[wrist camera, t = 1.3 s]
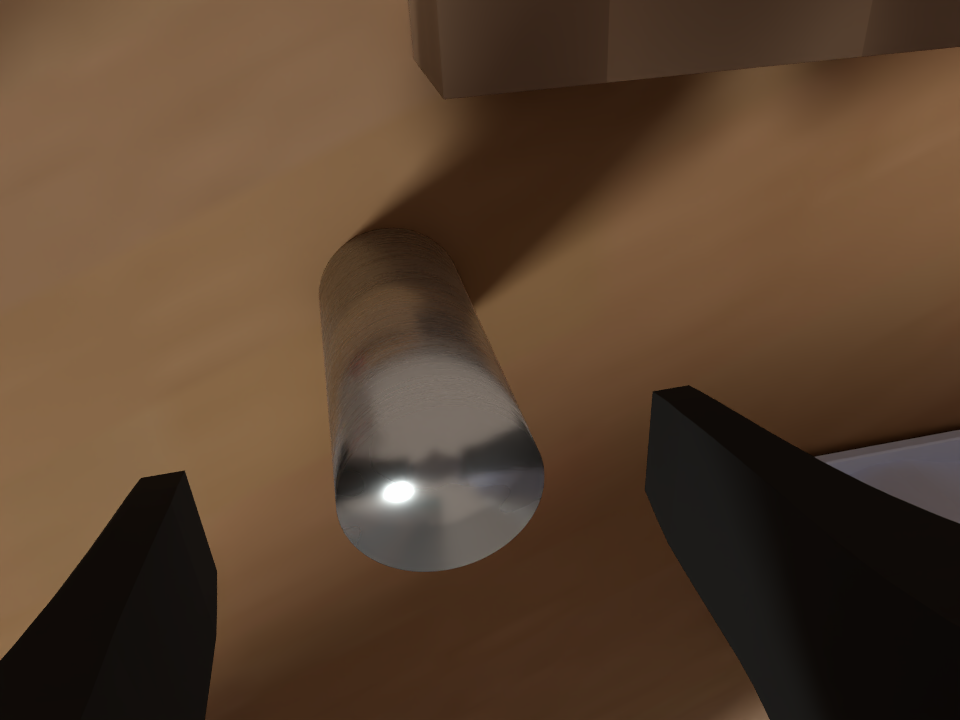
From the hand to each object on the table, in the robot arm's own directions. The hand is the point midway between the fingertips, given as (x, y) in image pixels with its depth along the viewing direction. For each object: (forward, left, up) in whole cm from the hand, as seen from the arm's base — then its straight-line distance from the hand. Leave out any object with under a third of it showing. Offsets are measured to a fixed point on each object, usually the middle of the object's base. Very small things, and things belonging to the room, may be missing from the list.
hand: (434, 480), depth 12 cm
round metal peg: (0, 0, -7) cm, 7 cm away
